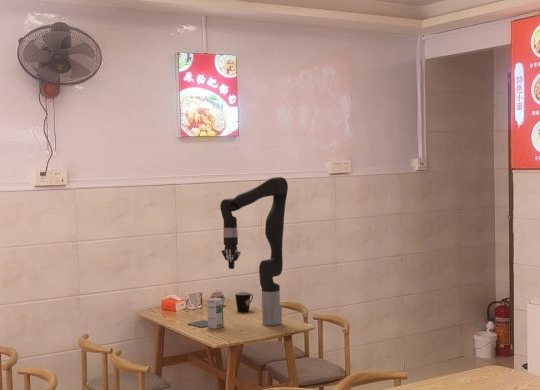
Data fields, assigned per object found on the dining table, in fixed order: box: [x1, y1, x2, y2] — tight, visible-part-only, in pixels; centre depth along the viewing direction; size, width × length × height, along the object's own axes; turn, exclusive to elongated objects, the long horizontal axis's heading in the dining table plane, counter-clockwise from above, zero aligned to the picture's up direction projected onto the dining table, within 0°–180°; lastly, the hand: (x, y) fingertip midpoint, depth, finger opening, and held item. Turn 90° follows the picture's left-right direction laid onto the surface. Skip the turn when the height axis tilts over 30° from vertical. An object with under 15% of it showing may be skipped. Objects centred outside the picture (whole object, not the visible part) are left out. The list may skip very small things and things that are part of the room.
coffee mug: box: [234, 291, 254, 314], centre depth 392 cm, size 12×9×10 cm
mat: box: [187, 319, 209, 329], centre depth 361 cm, size 12×11×1 cm
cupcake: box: [209, 288, 226, 305], centre depth 409 cm, size 9×9×10 cm
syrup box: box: [206, 298, 225, 330], centre depth 354 cm, size 6×6×14 cm
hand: (231, 268), depth 371 cm, fingers closed
